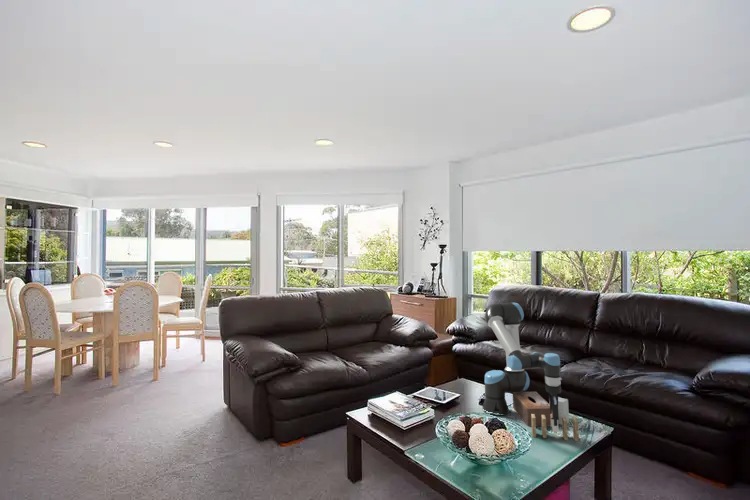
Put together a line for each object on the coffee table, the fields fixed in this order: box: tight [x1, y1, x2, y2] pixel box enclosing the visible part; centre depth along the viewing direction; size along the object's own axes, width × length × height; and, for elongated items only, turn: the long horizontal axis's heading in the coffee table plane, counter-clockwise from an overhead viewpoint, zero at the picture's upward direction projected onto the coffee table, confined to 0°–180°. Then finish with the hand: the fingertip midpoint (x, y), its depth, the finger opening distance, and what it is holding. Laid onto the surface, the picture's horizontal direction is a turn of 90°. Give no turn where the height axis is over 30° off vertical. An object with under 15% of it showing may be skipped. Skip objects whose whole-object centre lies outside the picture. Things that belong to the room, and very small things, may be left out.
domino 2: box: [541, 415, 548, 439], centre depth 205 cm, size 2×5×10 cm, turn 164°
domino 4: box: [572, 416, 580, 442], centre depth 201 cm, size 2×5×10 cm, turn 164°
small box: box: [548, 396, 570, 426], centre depth 221 cm, size 8×6×13 cm
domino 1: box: [531, 414, 537, 438], centre depth 206 cm, size 2×5×10 cm, turn 164°
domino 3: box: [561, 416, 569, 441], centre depth 202 cm, size 2×5×10 cm, turn 163°
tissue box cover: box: [512, 391, 551, 427], centre depth 229 cm, size 26×14×10 cm, turn 178°
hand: (554, 429), depth 203 cm, fingers closed on terracotta domino, 5 cm apart
